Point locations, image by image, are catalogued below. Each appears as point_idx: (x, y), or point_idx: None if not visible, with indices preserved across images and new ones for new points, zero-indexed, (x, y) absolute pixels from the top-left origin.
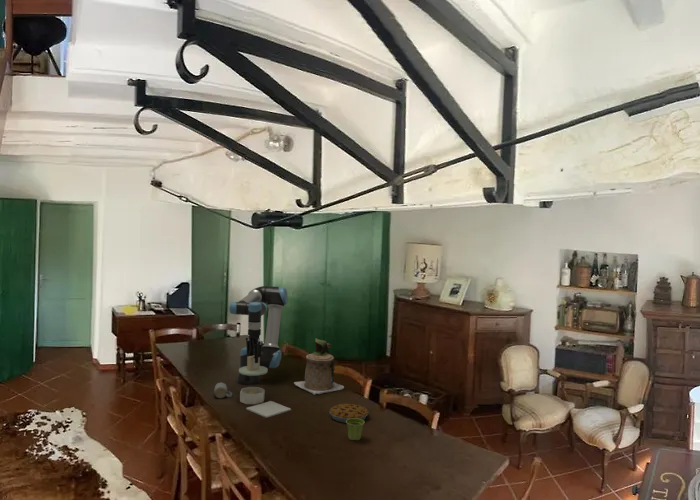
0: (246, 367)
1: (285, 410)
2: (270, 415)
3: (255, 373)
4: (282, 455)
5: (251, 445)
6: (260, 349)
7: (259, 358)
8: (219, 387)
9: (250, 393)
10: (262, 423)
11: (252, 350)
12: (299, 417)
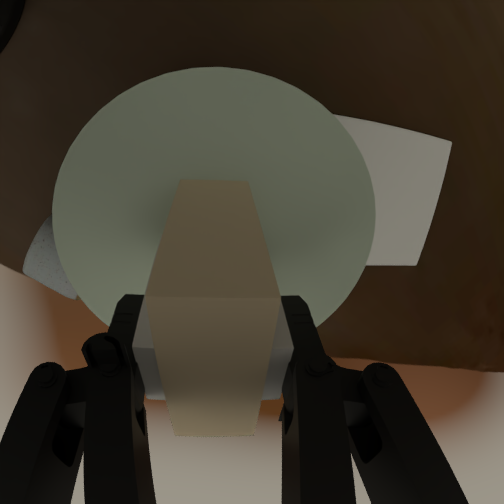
0: (100, 256)
1: (443, 172)
2: (421, 248)
3: (333, 309)
4: (496, 344)
5: (444, 366)
6: (446, 499)
7: (269, 267)
8: (77, 296)
9: None
10: (421, 297)
11: (141, 475)
12: (491, 182)
